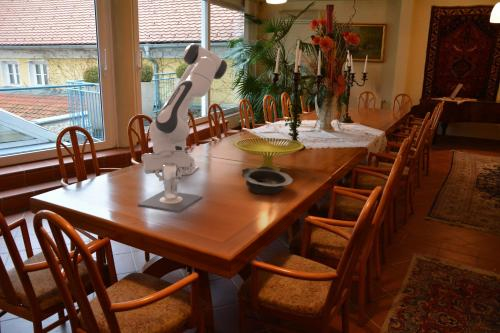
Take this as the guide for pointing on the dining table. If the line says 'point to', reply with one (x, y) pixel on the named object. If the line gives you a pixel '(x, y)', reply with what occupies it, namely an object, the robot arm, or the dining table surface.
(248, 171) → the stone bowl
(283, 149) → the cake stand
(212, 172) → the dining table surface
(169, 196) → the beer glass
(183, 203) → the place mat
